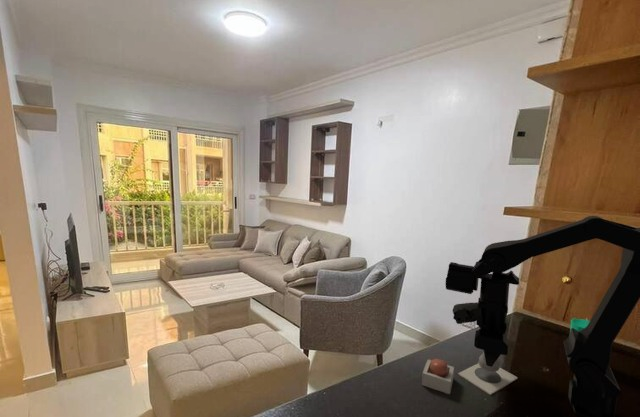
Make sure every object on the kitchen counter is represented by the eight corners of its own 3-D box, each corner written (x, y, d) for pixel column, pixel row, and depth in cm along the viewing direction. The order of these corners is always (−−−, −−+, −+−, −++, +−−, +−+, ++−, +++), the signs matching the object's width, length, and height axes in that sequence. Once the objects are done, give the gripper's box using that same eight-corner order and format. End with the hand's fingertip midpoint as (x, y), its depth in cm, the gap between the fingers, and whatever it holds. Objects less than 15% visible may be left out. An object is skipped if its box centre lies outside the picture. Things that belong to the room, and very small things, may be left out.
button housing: (453, 378, 73) (454, 367, 73) (449, 394, 68) (450, 382, 68) (427, 370, 76) (427, 359, 76) (422, 385, 71) (422, 372, 71)
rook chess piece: (502, 367, 73) (504, 335, 72) (495, 375, 70) (497, 343, 69) (482, 358, 77) (484, 328, 76) (475, 366, 74) (477, 335, 73)
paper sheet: (485, 360, 80) (485, 359, 80) (517, 378, 73) (517, 377, 73) (458, 374, 75) (458, 372, 75) (490, 395, 68) (490, 393, 68)
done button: (447, 371, 72) (448, 361, 72) (445, 380, 69) (445, 370, 69) (431, 366, 74) (432, 357, 74) (428, 374, 71) (429, 365, 71)
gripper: (460, 279, 83) (457, 333, 85) (450, 305, 67) (447, 371, 69) (508, 287, 78) (503, 345, 80) (510, 317, 62) (505, 389, 64)
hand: (489, 360), depth 73 cm, fingers closed on rook chess piece, 4 cm apart
